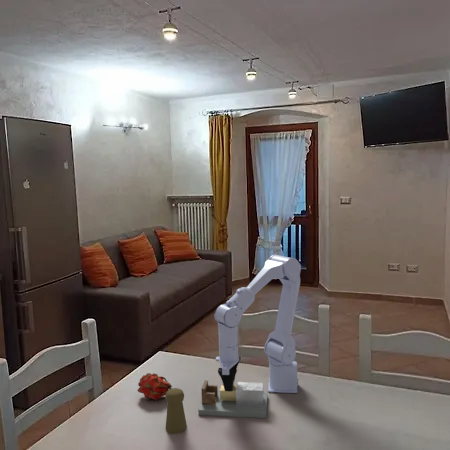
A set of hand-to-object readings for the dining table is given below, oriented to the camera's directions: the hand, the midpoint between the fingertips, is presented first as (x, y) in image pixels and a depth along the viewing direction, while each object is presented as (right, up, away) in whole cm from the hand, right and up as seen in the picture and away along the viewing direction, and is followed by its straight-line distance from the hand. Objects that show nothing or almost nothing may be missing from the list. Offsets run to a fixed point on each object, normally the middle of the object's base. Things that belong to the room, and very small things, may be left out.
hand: (229, 386), depth 132 cm
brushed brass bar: (+3, -4, 0) cm, 6 cm away
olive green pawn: (-15, -8, -10) cm, 20 cm away
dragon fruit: (-24, -6, +7) cm, 26 cm away
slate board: (+1, -6, 0) cm, 6 cm away
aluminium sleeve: (+6, -4, 0) cm, 8 cm away
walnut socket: (-6, -5, +1) cm, 8 cm away
